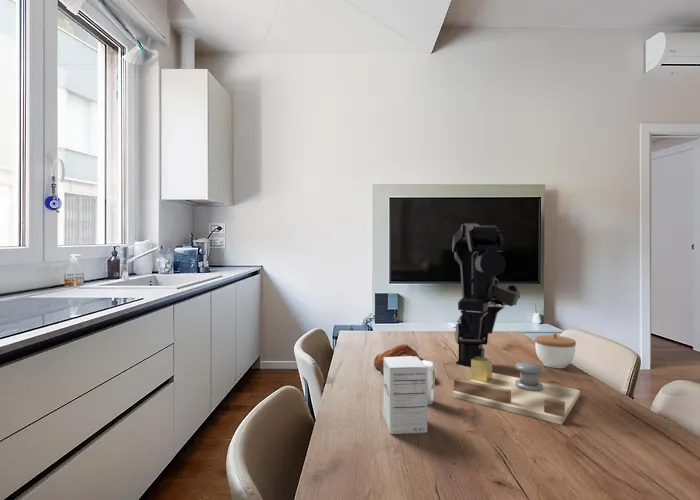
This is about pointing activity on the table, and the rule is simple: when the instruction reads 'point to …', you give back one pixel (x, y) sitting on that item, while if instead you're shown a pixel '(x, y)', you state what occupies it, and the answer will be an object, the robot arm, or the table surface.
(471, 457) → the table surface
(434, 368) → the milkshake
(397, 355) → the pastry
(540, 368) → the grey rounded knob
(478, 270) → the robot arm
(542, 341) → the lidded jar
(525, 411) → the board
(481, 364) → the tab
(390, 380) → the supplement box
